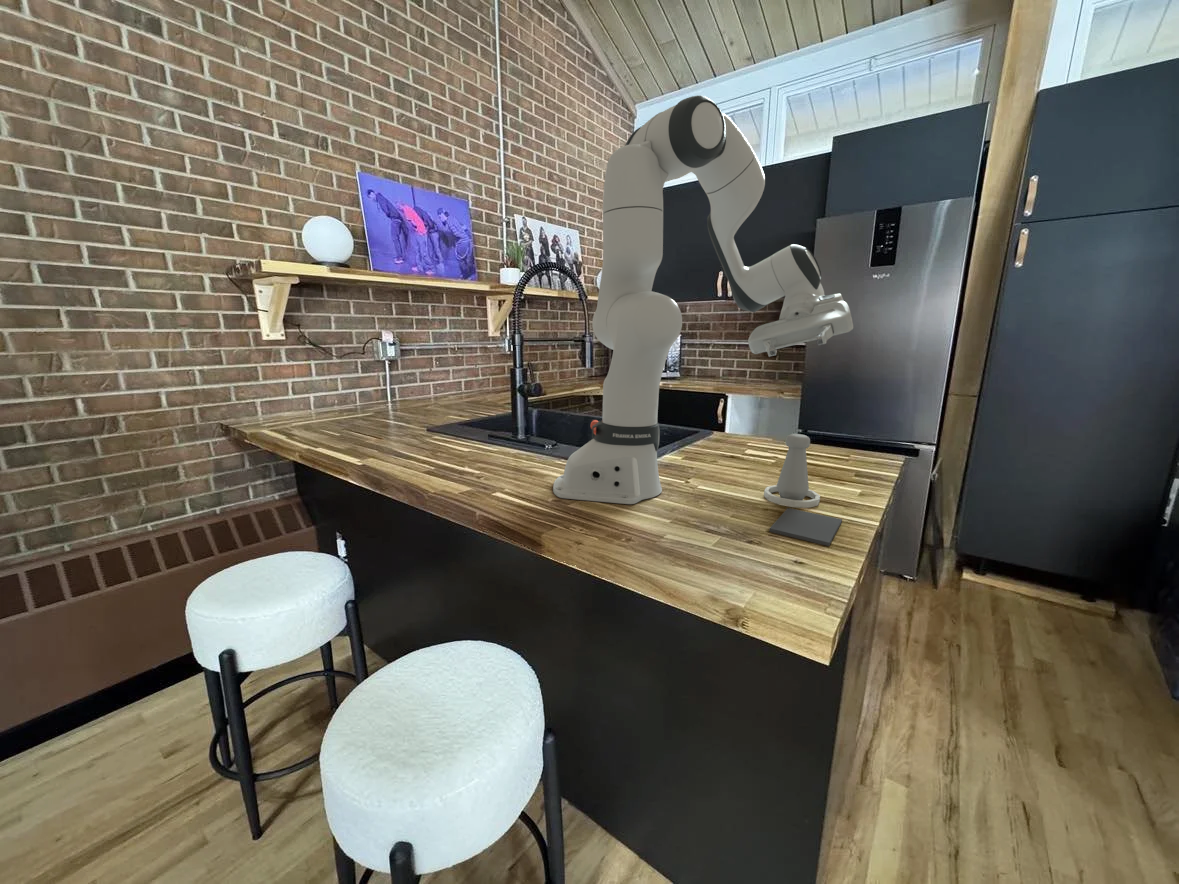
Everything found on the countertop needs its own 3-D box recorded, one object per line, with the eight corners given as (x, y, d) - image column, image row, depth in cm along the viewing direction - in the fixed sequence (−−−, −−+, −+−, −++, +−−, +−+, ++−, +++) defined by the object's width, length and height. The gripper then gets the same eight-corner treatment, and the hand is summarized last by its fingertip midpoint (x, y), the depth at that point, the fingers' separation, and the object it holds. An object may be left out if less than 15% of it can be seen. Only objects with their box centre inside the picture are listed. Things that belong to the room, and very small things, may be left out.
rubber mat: (829, 546, 73) (829, 542, 73) (769, 531, 78) (769, 528, 78) (841, 522, 82) (842, 519, 82) (787, 510, 87) (788, 507, 87)
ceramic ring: (774, 506, 89) (775, 500, 89) (757, 489, 99) (758, 484, 99) (828, 508, 89) (829, 502, 89) (805, 491, 99) (806, 485, 98)
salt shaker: (810, 504, 91) (818, 439, 88) (778, 502, 92) (785, 437, 89) (803, 495, 96) (810, 432, 93) (773, 492, 97) (780, 431, 94)
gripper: (749, 318, 109) (739, 346, 99) (849, 290, 97) (848, 318, 87) (757, 342, 111) (748, 371, 102) (855, 318, 100) (855, 348, 90)
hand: (795, 347), depth 95 cm, fingers open, 8 cm apart
